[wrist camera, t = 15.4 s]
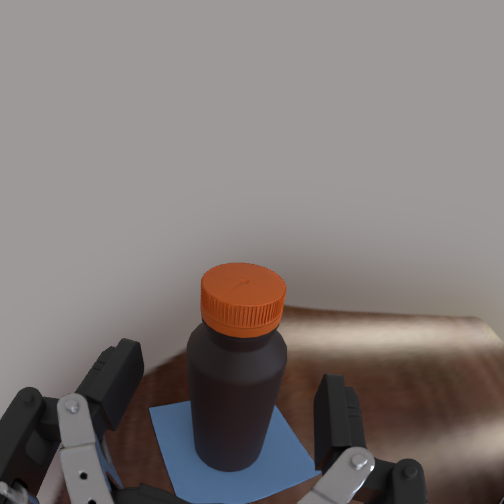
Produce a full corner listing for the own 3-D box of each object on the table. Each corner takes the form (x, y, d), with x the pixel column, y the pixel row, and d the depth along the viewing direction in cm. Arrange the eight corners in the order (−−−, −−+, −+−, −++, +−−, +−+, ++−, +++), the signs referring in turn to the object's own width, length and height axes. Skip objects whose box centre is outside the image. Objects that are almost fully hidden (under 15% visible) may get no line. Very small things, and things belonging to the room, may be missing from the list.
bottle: (206, 480, 21) (201, 327, 13) (187, 427, 27) (175, 259, 18) (271, 462, 24) (325, 305, 16) (246, 414, 29) (271, 251, 21)
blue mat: (261, 384, 34) (261, 383, 34) (320, 473, 23) (321, 472, 23) (149, 409, 28) (148, 407, 28) (186, 519, 17) (185, 519, 17)
